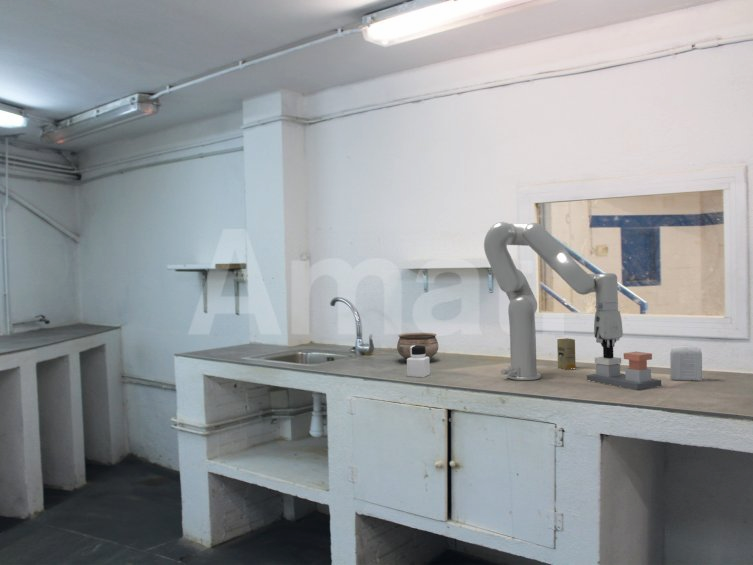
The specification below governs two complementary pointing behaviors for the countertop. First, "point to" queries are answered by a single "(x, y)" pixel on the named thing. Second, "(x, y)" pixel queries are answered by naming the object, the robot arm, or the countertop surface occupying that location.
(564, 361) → the shoe polish box
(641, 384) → the block
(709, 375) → the countertop surface
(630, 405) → the countertop surface
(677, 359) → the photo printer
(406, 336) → the cooking pot
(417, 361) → the medicine bottle
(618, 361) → the white plunger
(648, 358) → the salmon pink block
